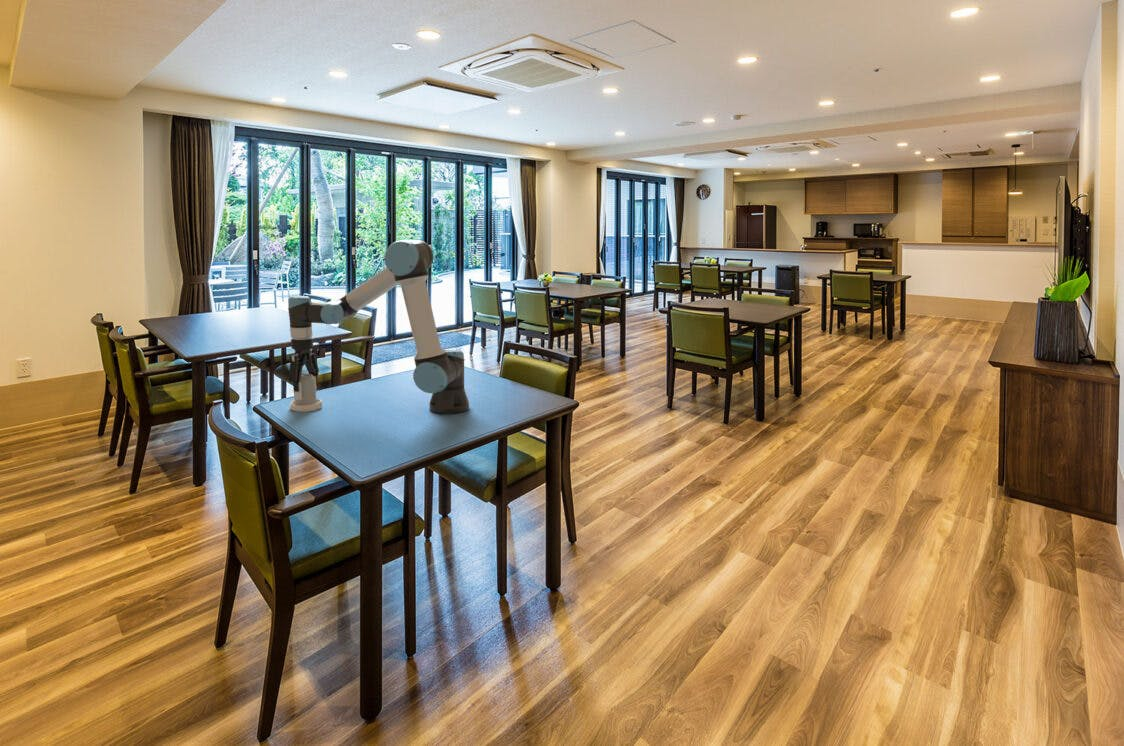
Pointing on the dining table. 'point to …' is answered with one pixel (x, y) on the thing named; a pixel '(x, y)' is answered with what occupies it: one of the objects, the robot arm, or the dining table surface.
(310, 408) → the bowl
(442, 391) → the robot arm
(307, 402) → the can
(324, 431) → the dining table surface
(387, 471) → the dining table surface
